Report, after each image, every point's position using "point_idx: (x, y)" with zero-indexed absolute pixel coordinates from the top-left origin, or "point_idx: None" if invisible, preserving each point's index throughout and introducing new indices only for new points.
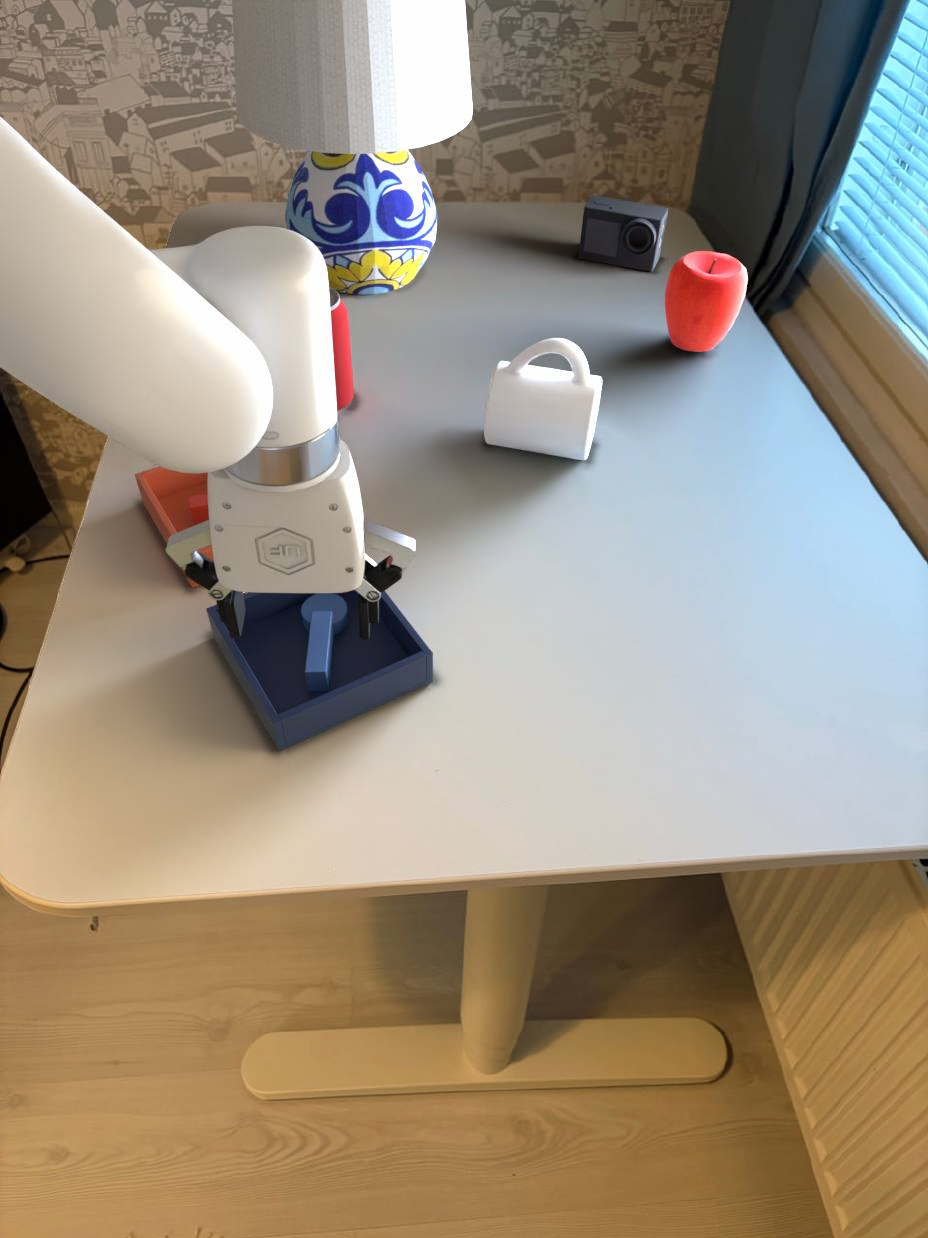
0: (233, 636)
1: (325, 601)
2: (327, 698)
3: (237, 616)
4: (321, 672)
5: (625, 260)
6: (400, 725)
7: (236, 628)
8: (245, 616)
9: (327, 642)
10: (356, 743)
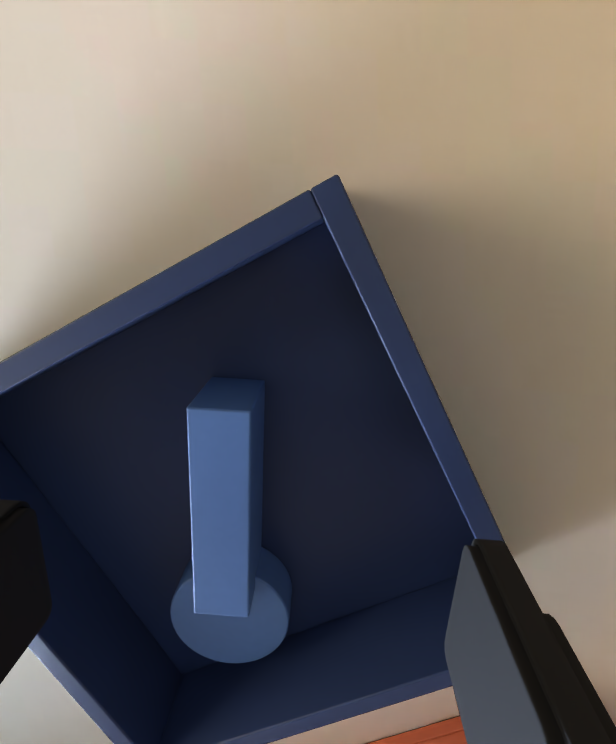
0: (495, 546)
1: (227, 639)
2: (152, 281)
3: (496, 641)
4: (199, 406)
5: None
6: (21, 263)
7: (490, 580)
8: (432, 612)
9: (192, 512)
10: (128, 209)
